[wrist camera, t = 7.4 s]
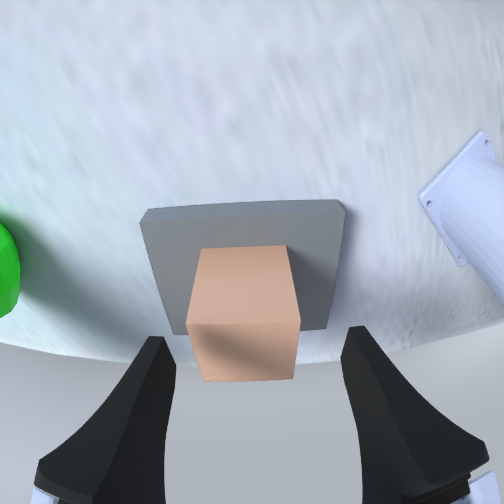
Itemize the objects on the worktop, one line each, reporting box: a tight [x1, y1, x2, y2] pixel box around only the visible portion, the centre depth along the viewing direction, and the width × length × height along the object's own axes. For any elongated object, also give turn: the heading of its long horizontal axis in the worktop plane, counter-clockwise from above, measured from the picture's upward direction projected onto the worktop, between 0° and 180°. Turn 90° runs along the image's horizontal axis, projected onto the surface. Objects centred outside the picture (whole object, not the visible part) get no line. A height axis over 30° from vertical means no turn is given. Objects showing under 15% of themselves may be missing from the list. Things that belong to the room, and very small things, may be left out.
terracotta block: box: [186, 245, 301, 382], centre depth 16 cm, size 5×5×6 cm
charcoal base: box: [139, 200, 345, 335], centre depth 19 cm, size 12×10×2 cm
